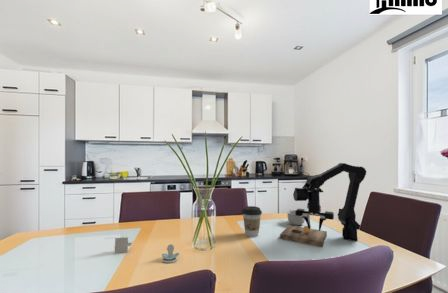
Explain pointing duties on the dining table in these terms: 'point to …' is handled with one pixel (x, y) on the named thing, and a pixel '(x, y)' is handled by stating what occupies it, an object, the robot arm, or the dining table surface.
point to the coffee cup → (251, 220)
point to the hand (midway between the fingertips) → (314, 230)
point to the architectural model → (122, 245)
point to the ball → (306, 230)
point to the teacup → (295, 218)
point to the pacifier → (170, 255)
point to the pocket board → (304, 236)
